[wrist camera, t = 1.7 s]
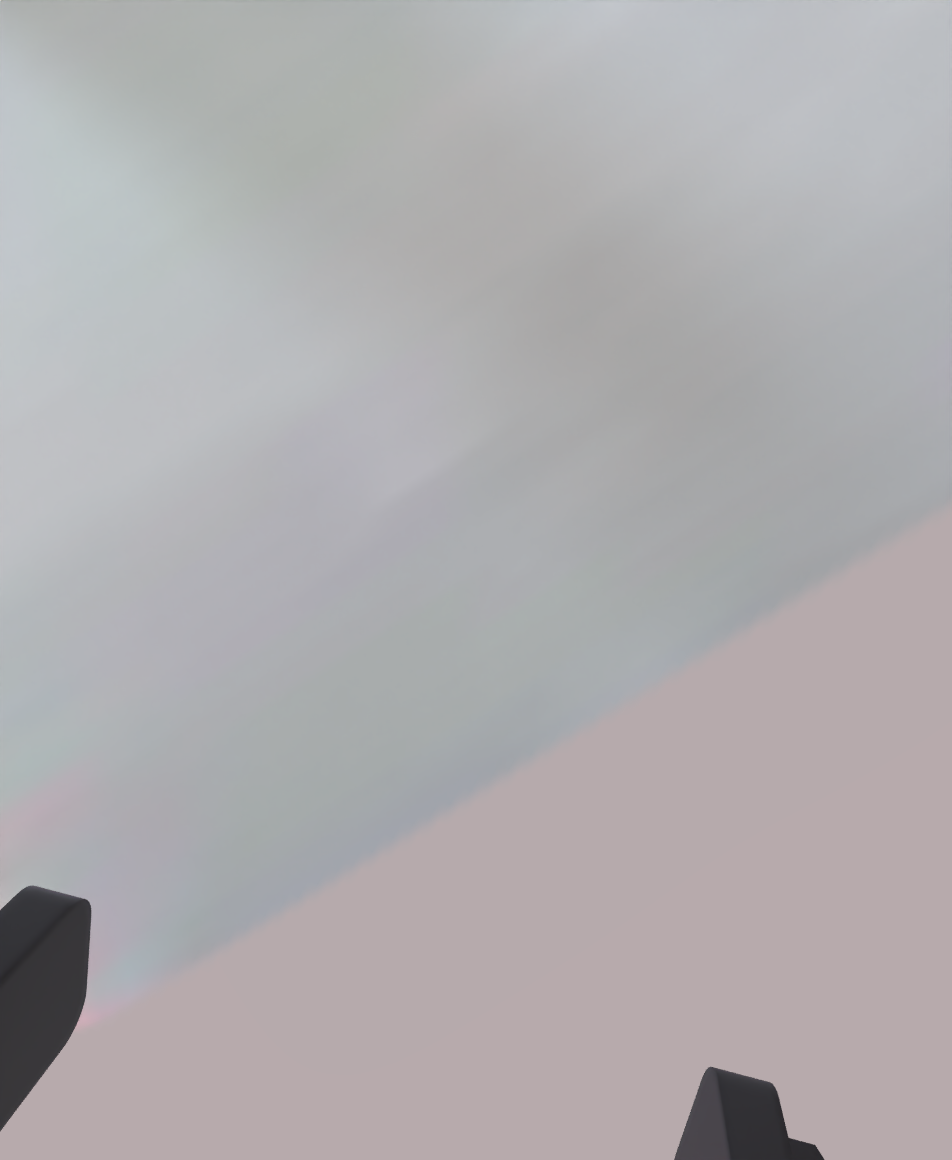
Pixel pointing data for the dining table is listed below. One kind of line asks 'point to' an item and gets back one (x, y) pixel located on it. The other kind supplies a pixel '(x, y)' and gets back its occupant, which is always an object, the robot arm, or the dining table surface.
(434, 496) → the dining table surface
